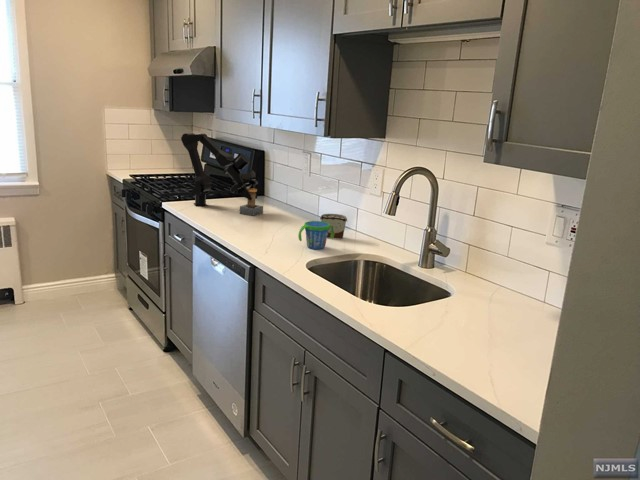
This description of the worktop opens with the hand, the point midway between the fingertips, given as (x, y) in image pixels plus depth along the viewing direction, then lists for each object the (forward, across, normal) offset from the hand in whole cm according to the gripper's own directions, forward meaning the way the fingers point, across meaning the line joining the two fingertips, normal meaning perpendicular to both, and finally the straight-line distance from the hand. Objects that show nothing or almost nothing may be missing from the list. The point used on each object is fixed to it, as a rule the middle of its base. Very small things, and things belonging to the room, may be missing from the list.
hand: (254, 198), depth 262 cm
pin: (+5, 0, +7) cm, 8 cm away
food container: (+42, -17, -31) cm, 55 cm away
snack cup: (+43, -38, -32) cm, 66 cm away
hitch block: (+5, 0, +7) cm, 8 cm away
